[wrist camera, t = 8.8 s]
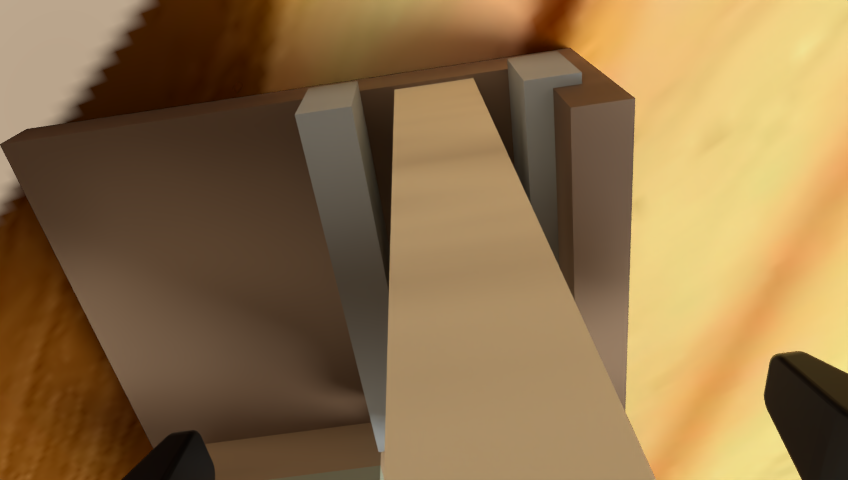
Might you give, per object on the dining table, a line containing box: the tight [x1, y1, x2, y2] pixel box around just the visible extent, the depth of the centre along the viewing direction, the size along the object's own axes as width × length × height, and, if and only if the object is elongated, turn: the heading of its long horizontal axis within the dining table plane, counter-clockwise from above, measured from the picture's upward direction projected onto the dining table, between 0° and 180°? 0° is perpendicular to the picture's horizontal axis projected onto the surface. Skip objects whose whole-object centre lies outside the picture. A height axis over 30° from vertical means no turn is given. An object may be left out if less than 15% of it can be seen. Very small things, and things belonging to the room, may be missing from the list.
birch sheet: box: [384, 78, 656, 480], centre depth 10 cm, size 8×2×10 cm, turn 8°
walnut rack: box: [0, 48, 635, 452], centre depth 15 cm, size 17×12×4 cm
